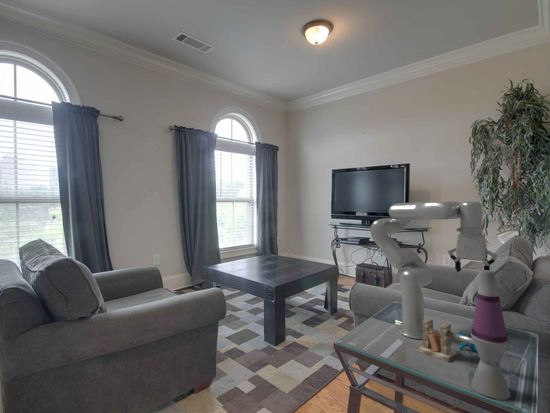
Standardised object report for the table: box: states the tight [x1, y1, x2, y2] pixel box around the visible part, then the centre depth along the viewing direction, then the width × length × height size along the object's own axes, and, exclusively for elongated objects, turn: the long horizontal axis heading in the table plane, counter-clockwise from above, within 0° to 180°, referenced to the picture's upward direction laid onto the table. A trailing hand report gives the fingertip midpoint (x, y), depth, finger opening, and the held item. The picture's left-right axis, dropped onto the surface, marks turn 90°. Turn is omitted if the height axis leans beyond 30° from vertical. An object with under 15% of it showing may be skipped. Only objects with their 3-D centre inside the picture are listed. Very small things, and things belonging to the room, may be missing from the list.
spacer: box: [428, 329, 441, 351], centre depth 123 cm, size 2×6×6 cm, turn 132°
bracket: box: [417, 317, 458, 363], centre depth 123 cm, size 12×10×12 cm
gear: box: [457, 330, 478, 354], centre depth 125 cm, size 11×6×10 cm
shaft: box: [447, 331, 475, 345], centre depth 113 cm, size 19×3×9 cm, turn 42°
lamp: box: [470, 269, 512, 401], centre depth 98 cm, size 11×11×40 cm
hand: (472, 273), depth 119 cm, fingers open, 9 cm apart
